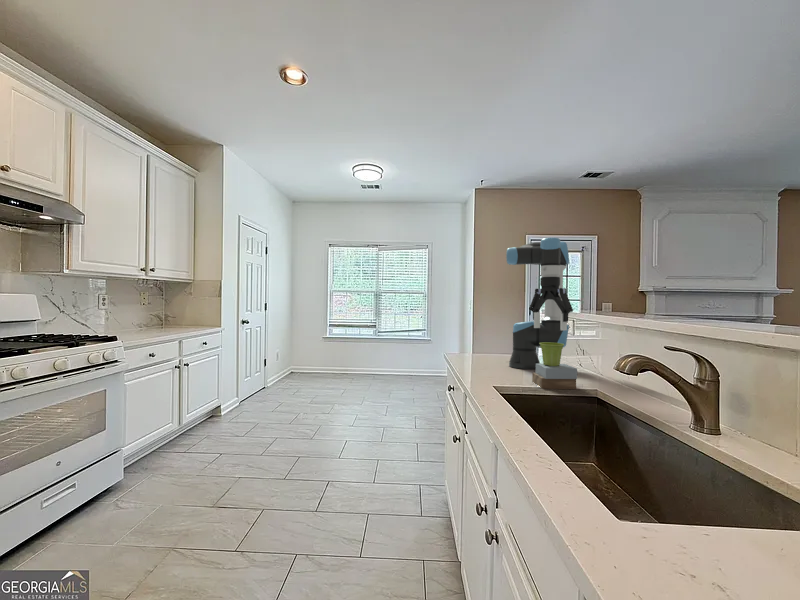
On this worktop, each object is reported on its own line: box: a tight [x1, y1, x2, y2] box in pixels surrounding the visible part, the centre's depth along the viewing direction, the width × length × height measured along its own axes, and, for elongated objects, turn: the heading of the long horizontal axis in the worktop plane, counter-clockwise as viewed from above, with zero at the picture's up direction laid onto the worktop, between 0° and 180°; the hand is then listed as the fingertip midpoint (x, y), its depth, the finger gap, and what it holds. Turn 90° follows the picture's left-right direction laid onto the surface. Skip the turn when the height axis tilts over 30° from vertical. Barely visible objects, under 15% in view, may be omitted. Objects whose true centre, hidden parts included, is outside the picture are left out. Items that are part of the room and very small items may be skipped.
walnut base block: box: [531, 372, 577, 390], centre depth 166 cm, size 13×13×4 cm
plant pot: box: [539, 342, 564, 366], centre depth 166 cm, size 9×9×9 cm
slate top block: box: [535, 363, 578, 380], centre depth 164 cm, size 12×12×4 cm
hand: (549, 329), depth 167 cm, fingers open, 13 cm apart
